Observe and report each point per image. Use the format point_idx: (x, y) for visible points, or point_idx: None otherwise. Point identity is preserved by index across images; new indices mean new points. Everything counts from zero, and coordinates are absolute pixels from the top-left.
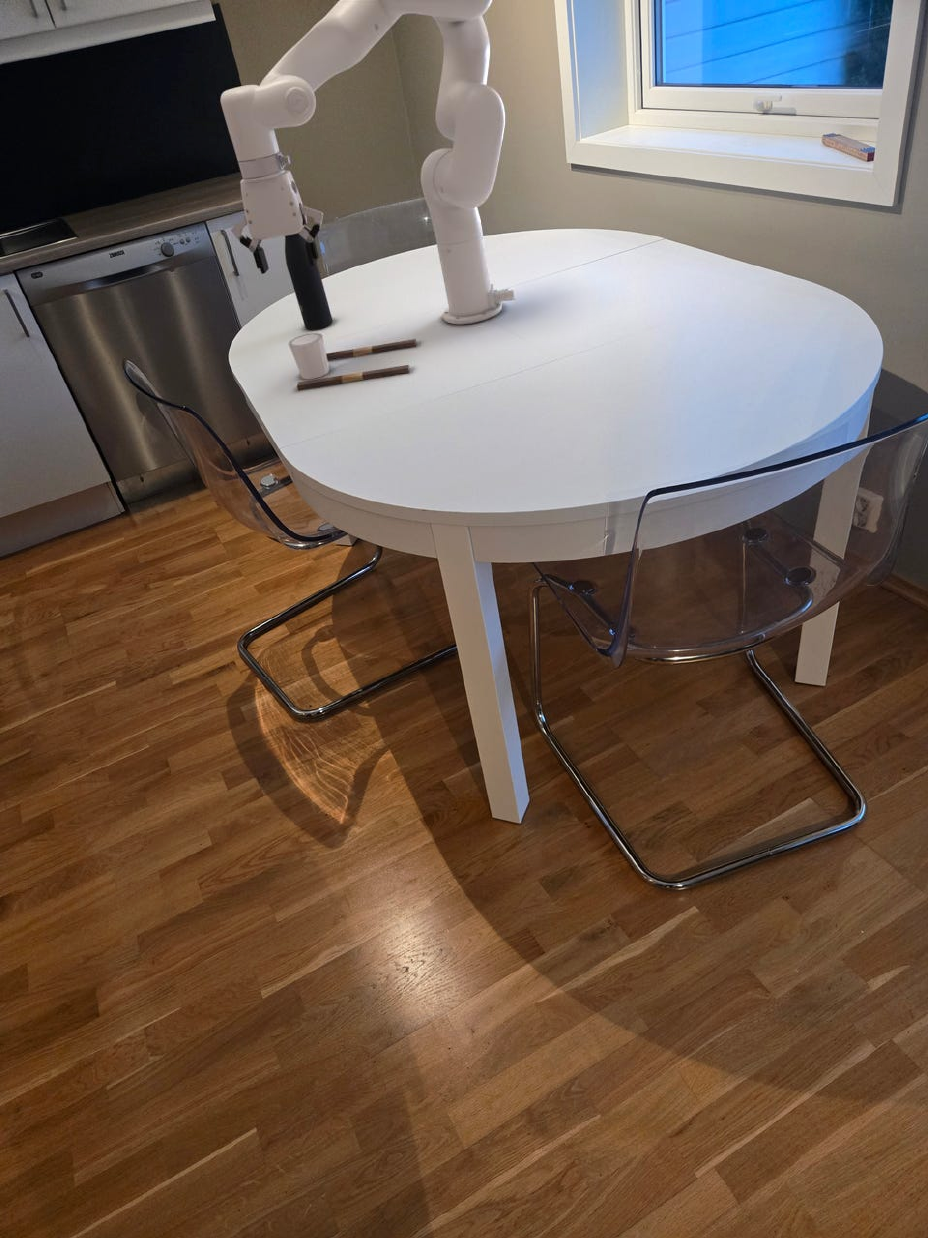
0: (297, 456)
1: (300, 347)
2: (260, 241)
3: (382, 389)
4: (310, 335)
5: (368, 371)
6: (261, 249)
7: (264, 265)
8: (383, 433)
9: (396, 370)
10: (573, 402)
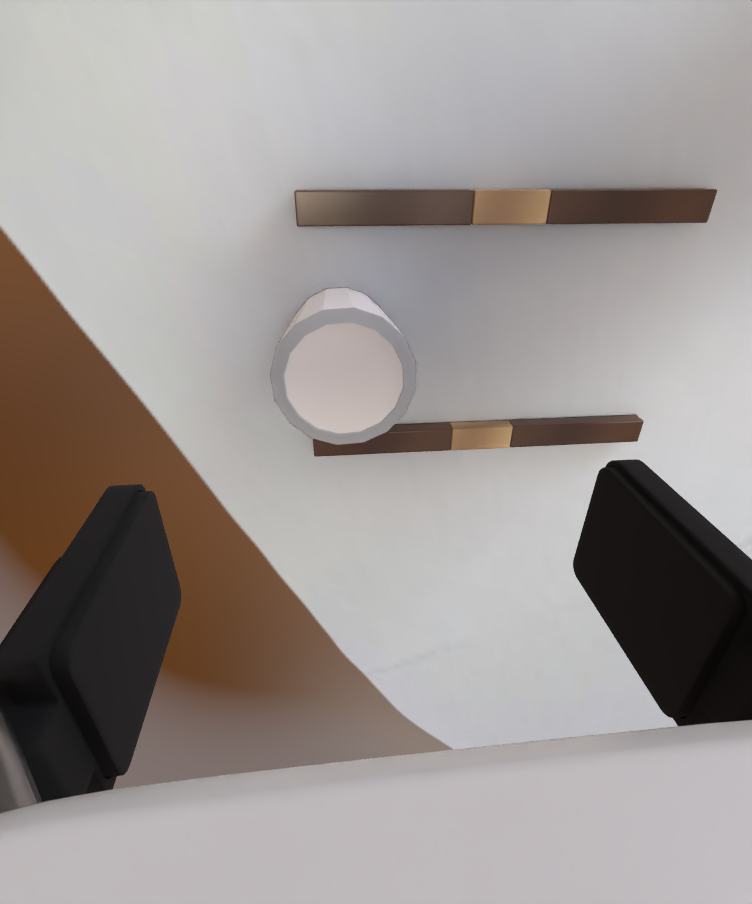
0: (396, 700)
1: (339, 442)
2: (38, 796)
3: (553, 507)
4: (356, 336)
5: (529, 429)
6: (90, 708)
7: (160, 606)
8: (542, 663)
9: (605, 441)
10: None
